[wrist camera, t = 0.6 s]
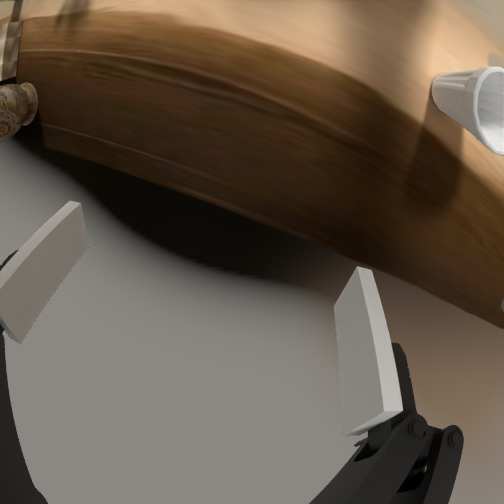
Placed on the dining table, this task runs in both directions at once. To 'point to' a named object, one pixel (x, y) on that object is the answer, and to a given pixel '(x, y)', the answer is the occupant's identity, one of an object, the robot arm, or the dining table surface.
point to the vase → (16, 107)
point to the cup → (474, 103)
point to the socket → (9, 49)
